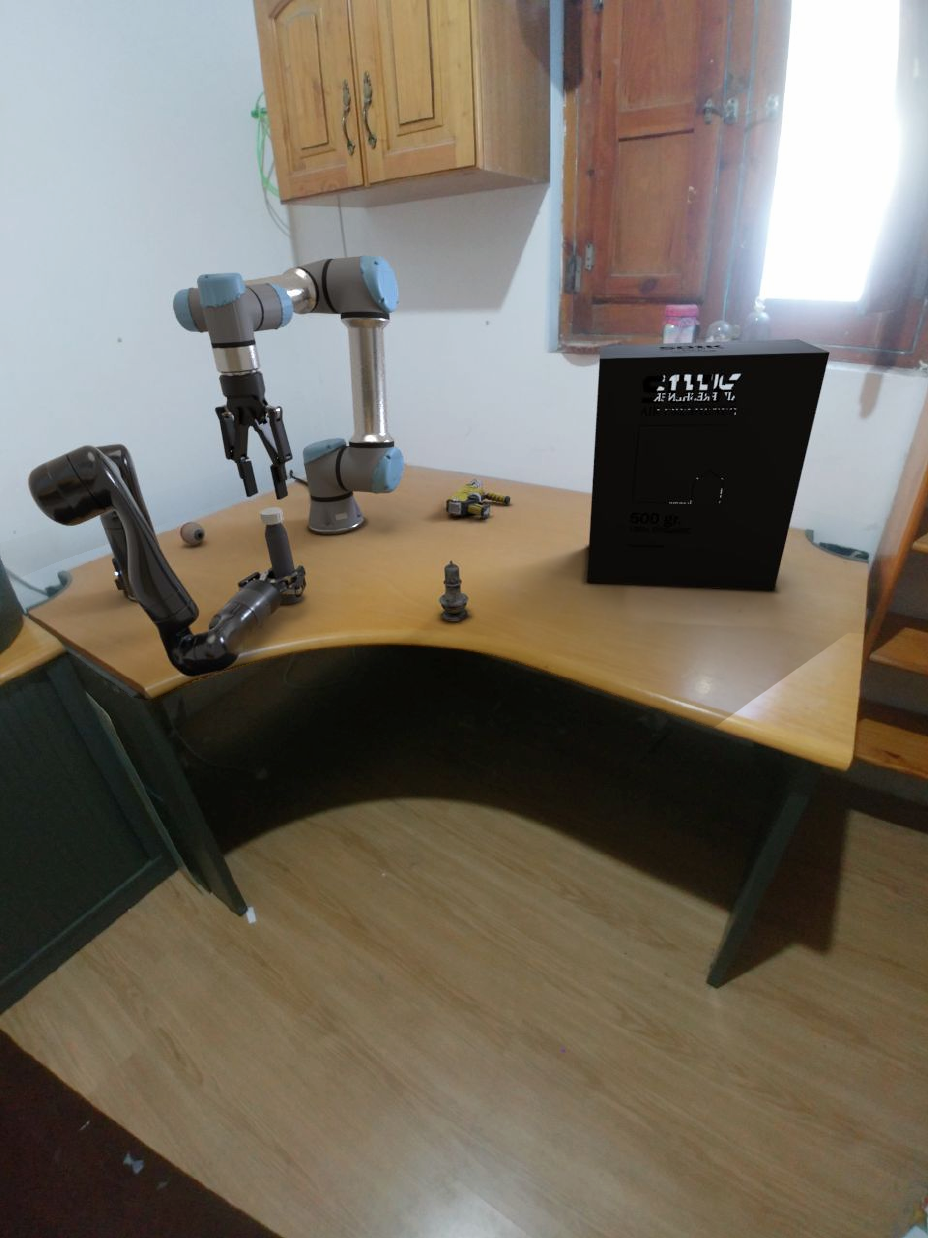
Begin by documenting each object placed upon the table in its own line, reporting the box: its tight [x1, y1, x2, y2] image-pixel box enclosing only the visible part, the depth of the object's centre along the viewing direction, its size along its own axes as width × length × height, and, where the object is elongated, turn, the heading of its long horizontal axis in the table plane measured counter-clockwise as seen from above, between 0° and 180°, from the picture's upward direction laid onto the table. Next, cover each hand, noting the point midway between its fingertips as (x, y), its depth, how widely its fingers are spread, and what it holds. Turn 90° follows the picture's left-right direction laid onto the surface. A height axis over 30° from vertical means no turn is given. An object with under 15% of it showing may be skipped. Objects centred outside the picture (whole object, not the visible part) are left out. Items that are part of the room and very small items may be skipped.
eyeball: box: [179, 521, 206, 546], centre depth 161 cm, size 6×6×6 cm
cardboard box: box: [586, 338, 831, 592], centre depth 124 cm, size 38×20×45 cm, turn 78°
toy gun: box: [445, 478, 511, 520], centre depth 176 cm, size 5×24×15 cm
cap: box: [259, 506, 285, 526], centre depth 122 cm, size 4×4×2 cm
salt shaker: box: [438, 560, 469, 622], centre depth 119 cm, size 6×6×12 cm
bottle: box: [264, 522, 302, 606], centre depth 126 cm, size 4×4×20 cm
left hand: (290, 569), depth 130 cm, fingers open, 5 cm apart
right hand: (267, 495), depth 120 cm, fingers open, 7 cm apart
